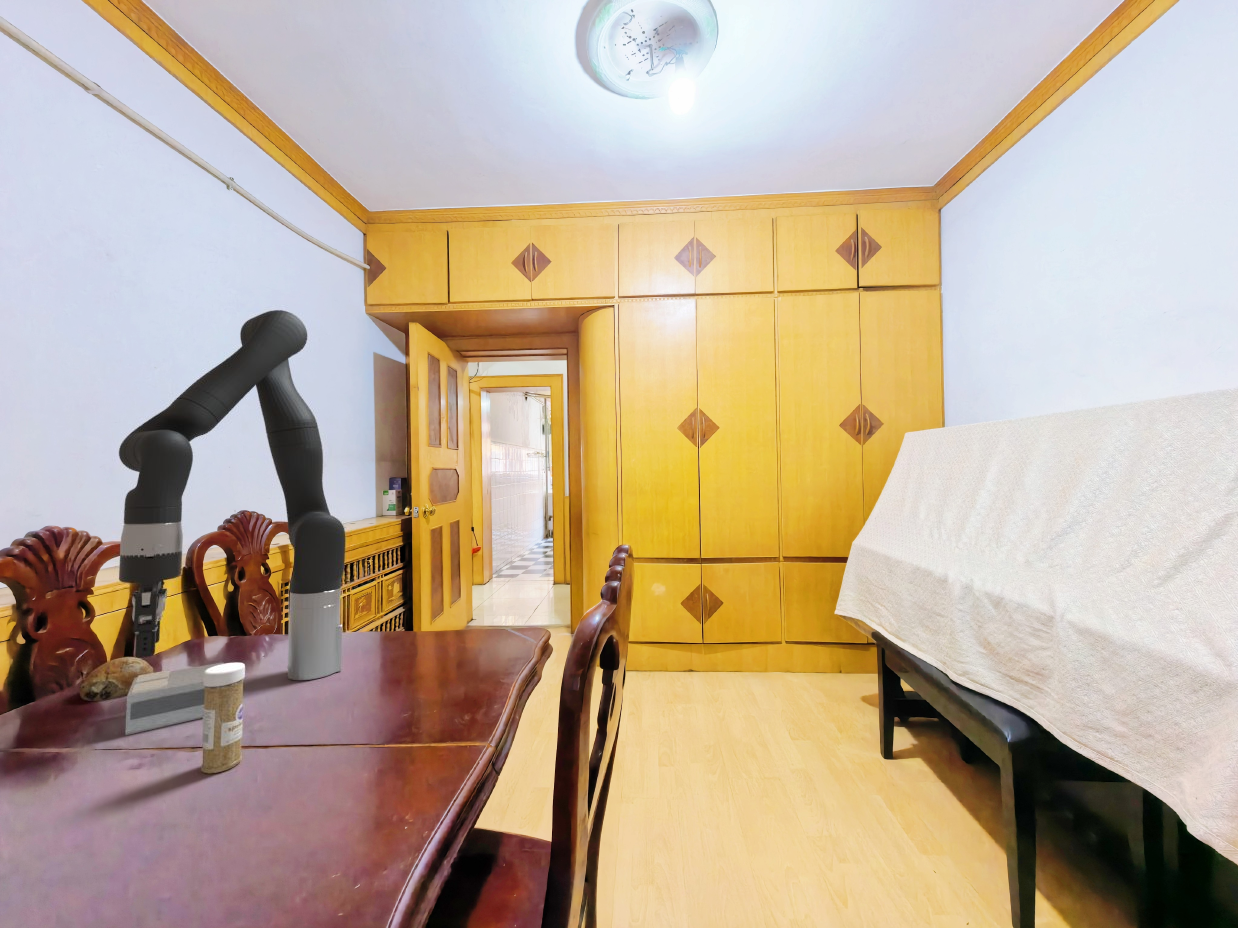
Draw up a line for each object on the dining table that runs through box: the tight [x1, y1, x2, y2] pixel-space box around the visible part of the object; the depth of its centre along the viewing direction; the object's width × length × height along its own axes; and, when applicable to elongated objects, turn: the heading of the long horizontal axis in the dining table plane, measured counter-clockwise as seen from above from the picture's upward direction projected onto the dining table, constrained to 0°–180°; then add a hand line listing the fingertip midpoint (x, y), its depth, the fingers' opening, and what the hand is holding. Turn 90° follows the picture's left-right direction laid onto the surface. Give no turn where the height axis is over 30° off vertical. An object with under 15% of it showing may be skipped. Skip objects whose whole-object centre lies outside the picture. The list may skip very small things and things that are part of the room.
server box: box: [125, 661, 225, 736], centre depth 85 cm, size 12×10×6 cm
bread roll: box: [78, 656, 155, 702], centre depth 96 cm, size 10×10×8 cm
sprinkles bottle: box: [200, 662, 246, 774], centre depth 69 cm, size 5×5×13 cm
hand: (147, 649), depth 81 cm, fingers open, 8 cm apart
